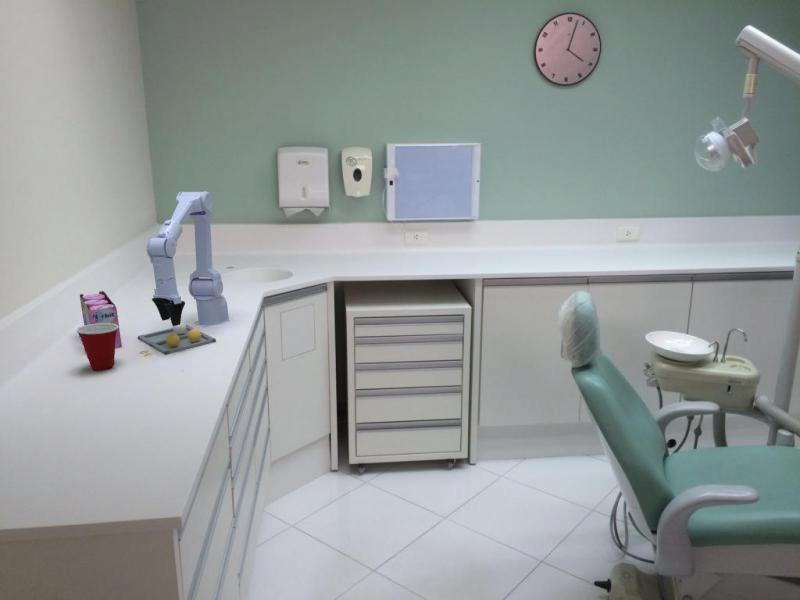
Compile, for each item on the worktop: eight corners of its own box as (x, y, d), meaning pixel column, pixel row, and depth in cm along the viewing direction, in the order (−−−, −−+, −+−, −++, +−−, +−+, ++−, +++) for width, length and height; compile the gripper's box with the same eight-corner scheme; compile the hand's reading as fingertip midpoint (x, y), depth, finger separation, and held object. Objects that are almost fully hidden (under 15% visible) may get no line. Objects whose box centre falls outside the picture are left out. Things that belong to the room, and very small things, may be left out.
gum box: (84, 333, 223) (77, 293, 219) (110, 329, 227) (104, 289, 223) (95, 354, 203) (88, 310, 199) (123, 348, 207) (116, 305, 203)
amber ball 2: (198, 338, 212) (196, 326, 211) (204, 341, 209) (202, 329, 208) (186, 341, 210) (184, 329, 208) (191, 344, 207) (190, 332, 206)
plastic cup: (132, 363, 194) (126, 323, 190) (99, 376, 185) (92, 334, 181) (107, 358, 199) (101, 318, 196) (74, 370, 190) (67, 329, 187)
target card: (149, 349, 205) (149, 348, 205) (160, 356, 199) (159, 354, 199) (132, 353, 202) (132, 352, 202) (143, 360, 196) (142, 358, 196)
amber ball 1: (177, 343, 208) (175, 330, 207) (182, 346, 205) (181, 333, 204) (164, 346, 206) (162, 334, 205) (170, 349, 203) (168, 336, 202)
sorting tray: (186, 328, 224) (186, 324, 224) (216, 343, 209) (215, 339, 208) (138, 340, 214) (137, 336, 214) (165, 356, 199) (164, 352, 198)
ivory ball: (183, 331, 220) (182, 319, 219) (189, 334, 217) (187, 322, 216) (171, 334, 217) (170, 322, 216) (177, 337, 214) (175, 324, 213)
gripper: (142, 276, 203) (148, 320, 206) (162, 284, 192) (168, 330, 196) (165, 272, 207) (170, 315, 211) (185, 280, 197) (191, 325, 200)
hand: (171, 322), depth 204 cm, fingers open, 7 cm apart
